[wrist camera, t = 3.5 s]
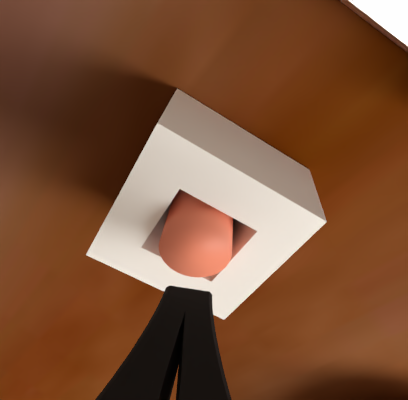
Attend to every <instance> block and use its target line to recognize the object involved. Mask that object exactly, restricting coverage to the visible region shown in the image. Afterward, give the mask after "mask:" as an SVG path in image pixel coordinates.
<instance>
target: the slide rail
mask: <svg viewBox="0 0 408 400" xmlns="http://www.w3.org/2000/svg"><path fill="white" fill-rule="evenodd" d="M339 1H341V2H342V3H343V4H344V5H346V6H347V7H348V8H350V9H351V10H352V11H354V12H355V13H356V14H358V15H359V16H360V17H361V18H363V19H364V20H365V21H367V22H368V23H369V24H371V25H372V26H373V27H375V28H376V29H377V30H378V31H380V32H381V33H382V34H384V35H385V36H386V37H388V38H389V39H390V40H392V41H393V42H394V43H395V44H397V45H398V46H399V47H401V48H402V49H403V50H405V51H406V52H407V53H408V0H339Z"/></svg>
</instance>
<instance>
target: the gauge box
mask: <svg viewBox="0 0 408 400" xmlns="http://www.w3.org/2000/svg"><path fill="white" fill-rule="evenodd" d="M179 189H181V190H183V191H185V192H186V193H188V194H190V195H192V196H194V197H196V198H197V199H199V200H201V201H203V202H205V203H207V204H208V205H210V206H212V207H214V208H216V209H218V210H219V211H221V212H223V213H225V214H227V215H229V216H230V217H232V218H233V238H232V256H231V260H230V262H229V264H228V265H227V266H226V267H225V268H224V269H223V270H222V271H221V272H219V273H217V274H215V275H212V276H208V277H190V276H185V275H182V274H180V273H178V272H176V271H174V270H173V269H171V268H170V267H169V266H168V265H167V264H166V263H165V262H164V261H163V259H162V258H161V256H160V253H159V241H160V238H161V235H162V231H163V228H164V225H165V222H166V219H167V215H168V212H169V209H170V206H171V203H172V200H173V198H174V197H175V195H176V194H177V192H178V191H179ZM326 222H327V221H326V218H325V215H324V212H323V209H322V206H321V203H320V200H319V197H318V194H317V191H316V188H315V185H314V182H313V179H312V176H311V173H310V170H309V169H307V168H306V167H304V166H303V165H301V164H299V163H298V162H296V161H294V160H293V159H291V158H290V157H288V156H286V155H285V154H283V153H281V152H280V151H278V150H277V149H275V148H273V147H272V146H270V145H268V144H267V143H265V142H264V141H262V140H260V139H259V138H257V137H255V136H254V135H252V134H251V133H249V132H247V131H246V130H244V129H242V128H241V127H239V126H238V125H236V124H234V123H233V122H231V121H229V120H228V119H226V118H225V117H223V116H221V115H220V114H218V113H216V112H215V111H213V110H212V109H210V108H208V107H207V106H205V105H203V104H202V103H200V102H199V101H197V100H195V99H194V98H192V97H190V96H189V95H187V94H186V93H184V92H182V91H181V90H179V89H178V88H177V90H176V91H175V93H174V95H173V96H172V98H171V100H170V102H169V103H168V105H167V107H166V109H165V110H164V112H163V114H162V116H161V117H160V119H159V121H158V123H157V125H156V126H155V128H154V130H153V132H152V134H151V136H150V138H149V139H148V141H147V143H146V145H145V147H144V149H143V150H142V152H141V154H140V156H139V158H138V160H137V162H136V163H135V165H134V167H133V169H132V171H131V173H130V174H129V176H128V178H127V180H126V182H125V184H124V186H123V187H122V189H121V191H120V193H119V195H118V197H117V199H116V200H115V202H114V204H113V206H112V208H111V210H110V211H109V213H108V215H107V217H106V219H105V221H104V223H103V224H102V226H101V228H100V230H99V232H98V234H97V236H96V237H95V239H94V241H93V243H92V245H91V247H90V248H89V250H88V252H87V254H86V255H87V256H89V257H92V258H94V259H96V260H98V261H100V262H102V263H104V264H106V265H109V266H111V267H113V268H115V269H117V270H119V271H121V272H124V273H126V274H128V275H130V276H132V277H134V278H136V279H138V280H141V281H143V282H145V283H147V284H149V285H151V286H153V287H156V288H158V289H160V290H162V291H164V292H165V289H166V287H168V286H176V287H183V288H190V289H196V290H203V291H209V292H210V293H211V294H212V307H213V315H215V316H217V317H220V318H222V319H225V318H226V317H228V316H229V315H230V314H231V313H232V312H233V311H234V310H235V309H236V308H237V307H238V306H239V305H240V304H241V303H242V302H243V301H244V300H245V299H246V298H247V297H248V296H249V295H251V294H252V293H253V292H254V291H255V290H256V289H257V288H258V287H259V286H260V285H261V284H262V283H263V282H264V281H265V280H266V279H267V278H268V277H269V276H270V275H271V274H272V273H274V272H275V271H276V270H277V269H278V268H279V267H280V266H281V265H282V264H283V263H284V262H285V261H286V260H287V259H288V258H289V257H290V256H291V255H292V254H293V253H294V252H296V251H297V250H298V249H299V248H300V247H301V246H302V245H303V244H304V243H305V242H306V241H307V240H308V239H309V238H310V237H311V236H312V235H313V234H314V233H315V232H316V231H317V230H319V229H320V228H321V227H322V226H323V225H324V224H325V223H326Z"/></svg>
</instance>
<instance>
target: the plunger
mask: <svg viewBox="0 0 408 400" xmlns="http://www.w3.org/2000/svg"><path fill="white" fill-rule="evenodd" d="M232 238H233V218H232V217H230V216H229V215H227V214H225V213H223V212H221V211H219V210H218V209H216V208H214V207H212V206H210V205H208V204H207V203H205V202H203V201H201V200H199V199H197V198H196V197H194V196H192V195H190V194H188V193H186V192H185V191H183V190H181V189H179V191H178V192H177V194H176V195H175V197H174V198H173V200H172V203H171V206H170V209H169V212H168V215H167V219H166V222H165V225H164V228H163V231H162V235H161V238H160V241H159V253H160V256H161V258H162V259H163V261H164V262H165V263H166V264H167V265H168V266H169V267H170V268H171V269H173V270H174V271H176V272H178V273H180V274H182V275H185V276H190V277H208V276H212V275H215V274H217V273H219V272H221V271H222V270H223V269H224V268H225V267H226V266H227V265H228V264H229V262H230V260H231V256H232Z"/></svg>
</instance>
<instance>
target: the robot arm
mask: <svg viewBox="0 0 408 400" xmlns="http://www.w3.org/2000/svg"><path fill="white" fill-rule="evenodd" d="M178 365H179V369H178ZM177 369H178V381H177V394H176V400H231V397H230V393H229V389H228V386H227V382H226V378H225V374H224V370H223V366H222V362H221V357H220V353H219V348H218V343H217V338H216V332H215V326H214V318H213V307H212V294H211V293H210V292H209V291H203V290H196V289H190V288H183V287H176V286H168V287H166V289H165V292H164V294H163V296H162V299H161V301H160V303H159V305H158V307H157V309H156V311H155V313H154V314H153V316H152V318H151V320H150V321H149V323H148V325H147V327H146V328H145V330H144V331H143V333H142V335H141V336H140V338H139V339H138V341H137V343H136V344H135V346H134V347H133V349H132V350H131V352H130V353H129V355H128V356H127V358H126V359H125V360H124V362H123V363H122V365H121V366H120V368H119V369H118V370H117V372H116V373H115V375H114V376H113V377H112V379H111V380H110V381H109V383H108V384H107V385H106V387H105V388H104V389H103V391H102V392H101V393H100V394H99V396H98V397H97V398H96V399H95V400H170V396H171V392H172V388H173V385H174V381H175V377H176V373H177Z"/></svg>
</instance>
